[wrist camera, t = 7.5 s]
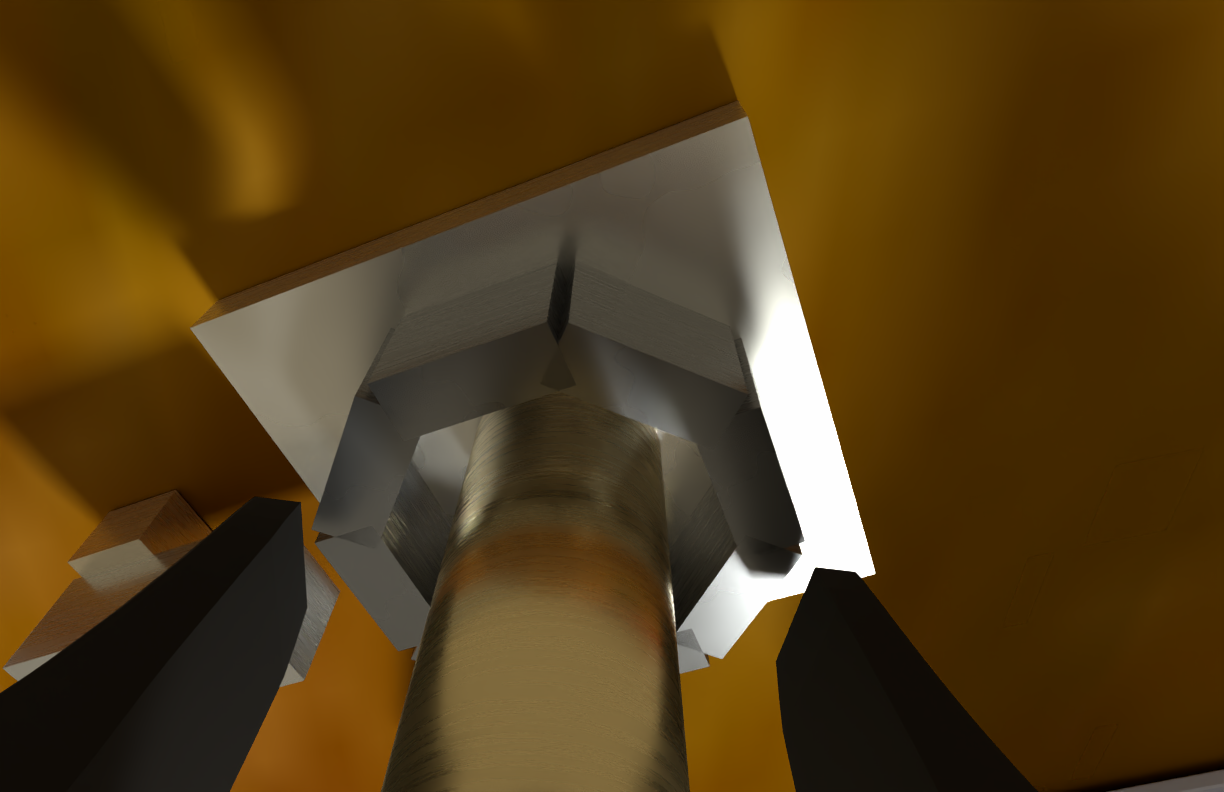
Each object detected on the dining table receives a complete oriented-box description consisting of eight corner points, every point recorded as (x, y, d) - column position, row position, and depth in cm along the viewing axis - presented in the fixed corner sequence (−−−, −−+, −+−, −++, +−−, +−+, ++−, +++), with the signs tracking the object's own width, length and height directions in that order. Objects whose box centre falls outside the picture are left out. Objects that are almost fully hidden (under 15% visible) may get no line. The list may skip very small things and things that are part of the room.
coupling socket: (737, 100, 11) (778, 166, 9) (914, 724, 19) (967, 870, 16) (-16, 390, 14) (-178, 515, 11) (402, 834, 22) (369, 976, 19)
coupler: (631, 352, 12) (650, 841, 6) (680, 503, 14) (738, 1018, 8) (445, 401, 13) (271, 901, 6) (512, 541, 15) (429, 1056, 8)
